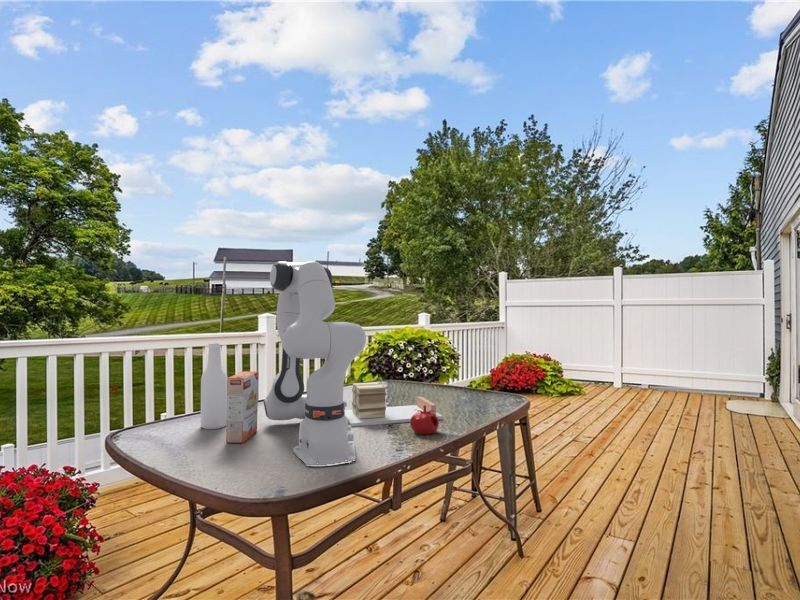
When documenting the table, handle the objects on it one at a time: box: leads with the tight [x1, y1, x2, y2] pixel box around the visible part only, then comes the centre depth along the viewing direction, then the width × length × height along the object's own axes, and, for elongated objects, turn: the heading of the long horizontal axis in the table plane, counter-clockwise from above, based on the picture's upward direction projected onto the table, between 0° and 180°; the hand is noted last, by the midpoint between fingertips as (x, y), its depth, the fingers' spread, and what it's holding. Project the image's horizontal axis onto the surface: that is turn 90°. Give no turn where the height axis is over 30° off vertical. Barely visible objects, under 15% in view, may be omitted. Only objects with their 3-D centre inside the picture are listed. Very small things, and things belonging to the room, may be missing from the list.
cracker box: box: [225, 370, 259, 444], centre depth 152 cm, size 14×6×21 cm, turn 179°
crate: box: [351, 381, 387, 419], centre depth 177 cm, size 12×10×11 cm
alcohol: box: [200, 341, 228, 430], centre depth 164 cm, size 9×9×30 cm
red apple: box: [409, 405, 440, 435], centre depth 159 cm, size 10×10×9 cm
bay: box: [344, 395, 444, 427], centre depth 180 cm, size 20×36×5 cm, turn 108°
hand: (345, 403), depth 175 cm, fingers closed
